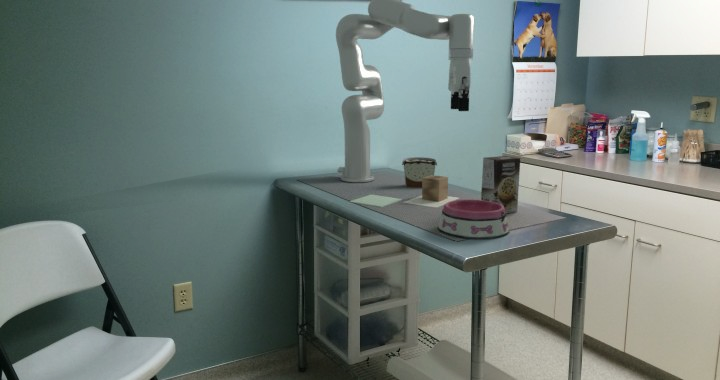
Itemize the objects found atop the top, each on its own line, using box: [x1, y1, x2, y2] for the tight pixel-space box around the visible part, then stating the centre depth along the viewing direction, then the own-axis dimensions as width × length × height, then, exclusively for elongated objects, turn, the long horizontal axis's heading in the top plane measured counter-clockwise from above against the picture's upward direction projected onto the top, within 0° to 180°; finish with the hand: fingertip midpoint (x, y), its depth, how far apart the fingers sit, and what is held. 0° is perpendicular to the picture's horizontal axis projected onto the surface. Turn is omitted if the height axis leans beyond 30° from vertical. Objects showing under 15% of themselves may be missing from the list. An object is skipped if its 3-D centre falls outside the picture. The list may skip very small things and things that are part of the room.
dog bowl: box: [437, 199, 510, 240], centre depth 154 cm, size 18×19×7 cm
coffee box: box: [480, 155, 521, 214], centre depth 171 cm, size 9×6×16 cm
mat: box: [349, 194, 403, 208], centre depth 186 cm, size 12×12×1 cm
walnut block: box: [421, 174, 449, 202], centre depth 188 cm, size 6×6×7 cm
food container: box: [401, 156, 438, 188], centre depth 209 cm, size 12×6×10 cm, turn 84°
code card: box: [402, 195, 460, 209], centre depth 187 cm, size 12×16×1 cm
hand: (459, 110), depth 187 cm, fingers open, 9 cm apart
